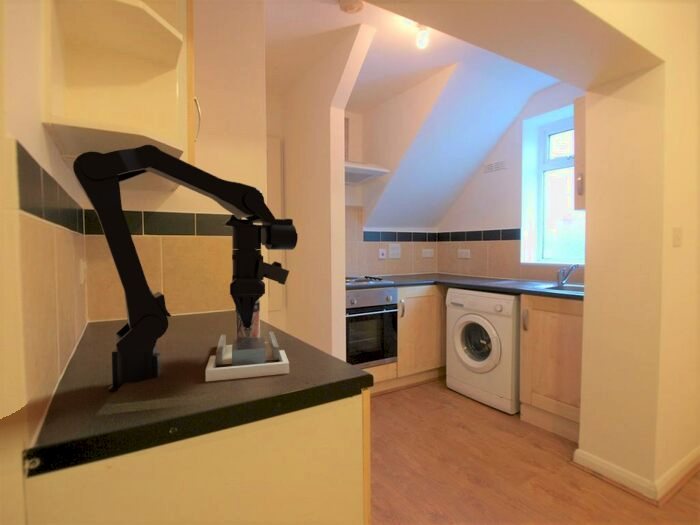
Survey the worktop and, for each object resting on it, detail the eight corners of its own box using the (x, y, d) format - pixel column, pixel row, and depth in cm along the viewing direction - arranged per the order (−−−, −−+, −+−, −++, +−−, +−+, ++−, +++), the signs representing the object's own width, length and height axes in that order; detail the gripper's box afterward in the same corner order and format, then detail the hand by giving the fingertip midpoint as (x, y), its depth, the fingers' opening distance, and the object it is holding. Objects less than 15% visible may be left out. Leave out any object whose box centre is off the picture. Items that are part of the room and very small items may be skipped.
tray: (205, 388, 60) (205, 370, 60) (210, 371, 68) (210, 355, 68) (289, 379, 64) (289, 362, 64) (284, 364, 72) (283, 349, 72)
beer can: (235, 359, 71) (235, 299, 70) (236, 352, 75) (235, 296, 75) (260, 357, 72) (259, 298, 72) (259, 351, 77) (259, 295, 76)
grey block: (232, 373, 66) (231, 350, 65) (233, 360, 71) (232, 339, 70) (265, 369, 68) (265, 347, 67) (263, 358, 72) (263, 337, 71)
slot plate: (216, 370, 69) (215, 351, 69) (221, 350, 83) (221, 334, 83) (279, 365, 72) (278, 346, 72) (273, 346, 87) (273, 331, 86)
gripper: (292, 249, 66) (292, 332, 67) (281, 250, 84) (282, 315, 85) (229, 249, 63) (230, 336, 64) (232, 250, 81) (233, 318, 82)
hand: (247, 325), depth 73 cm, fingers closed on beer can, 5 cm apart
